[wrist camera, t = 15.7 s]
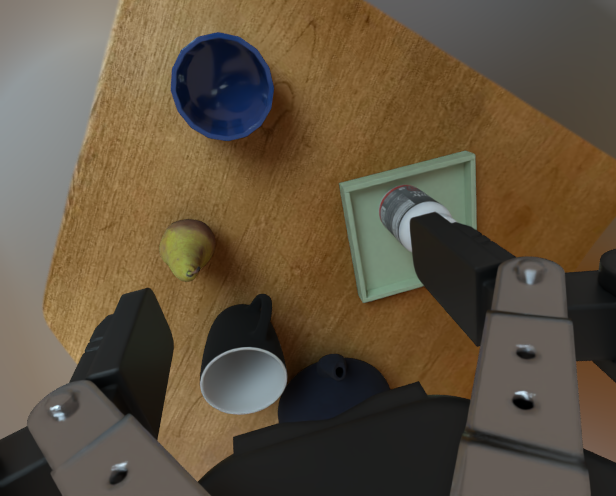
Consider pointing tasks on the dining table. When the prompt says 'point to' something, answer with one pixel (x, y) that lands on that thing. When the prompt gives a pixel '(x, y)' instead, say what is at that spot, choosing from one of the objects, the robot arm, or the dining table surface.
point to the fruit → (187, 248)
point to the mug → (243, 359)
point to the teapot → (329, 389)
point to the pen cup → (222, 86)
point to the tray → (379, 240)
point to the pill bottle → (407, 211)
